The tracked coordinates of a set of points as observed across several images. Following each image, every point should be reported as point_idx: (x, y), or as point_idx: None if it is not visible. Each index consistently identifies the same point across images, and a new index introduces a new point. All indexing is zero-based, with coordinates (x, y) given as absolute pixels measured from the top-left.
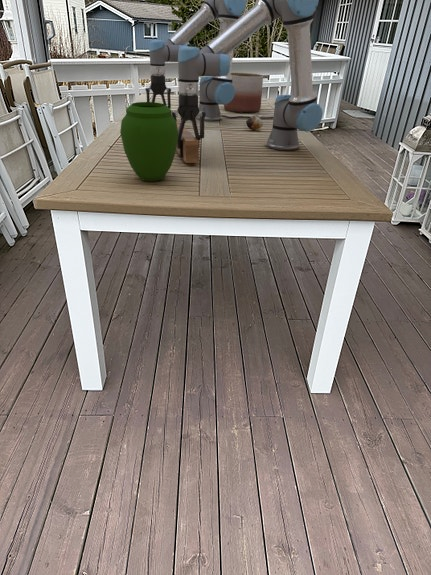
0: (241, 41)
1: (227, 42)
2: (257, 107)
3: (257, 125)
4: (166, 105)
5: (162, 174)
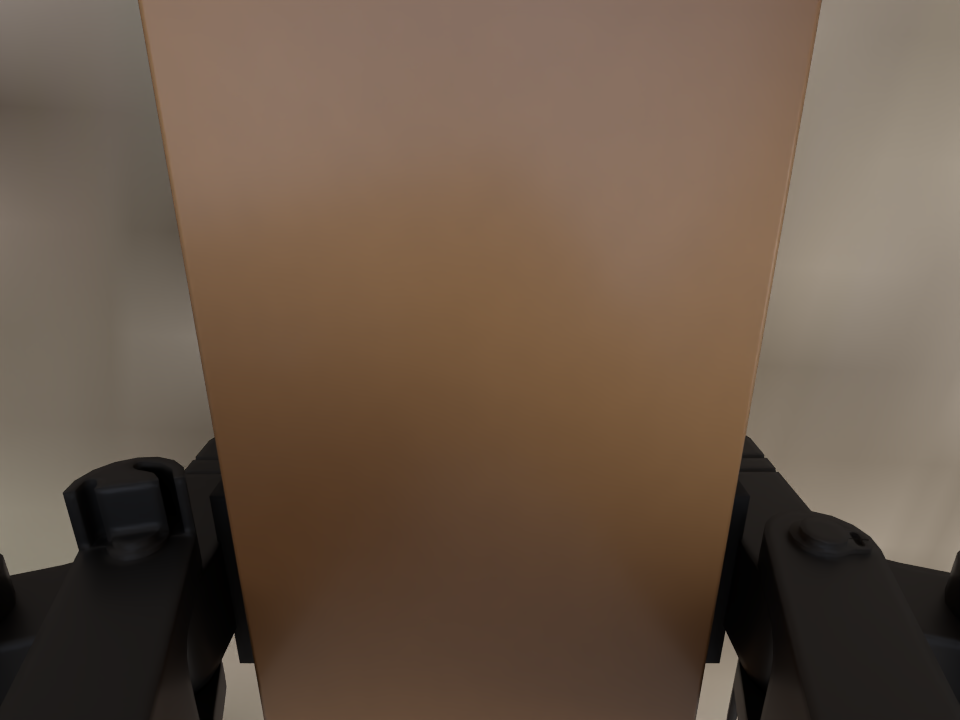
0: None
1: None
2: None
3: None
4: (31, 663)
5: None
